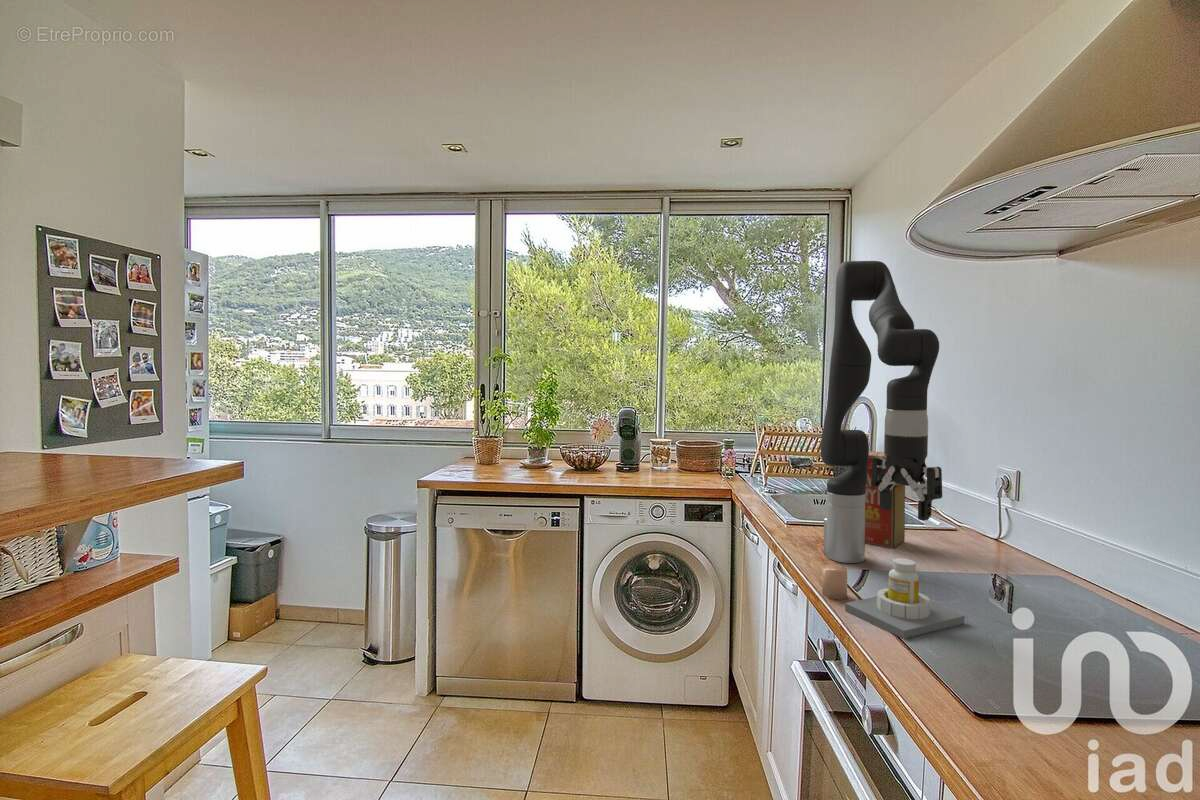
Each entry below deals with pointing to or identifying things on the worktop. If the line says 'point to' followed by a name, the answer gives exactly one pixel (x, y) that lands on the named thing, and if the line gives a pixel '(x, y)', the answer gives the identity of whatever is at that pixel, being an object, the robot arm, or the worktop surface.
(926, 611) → the collar board
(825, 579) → the peach pill-shaped knob
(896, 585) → the supplement bottle
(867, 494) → the food packaging
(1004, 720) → the worktop surface
